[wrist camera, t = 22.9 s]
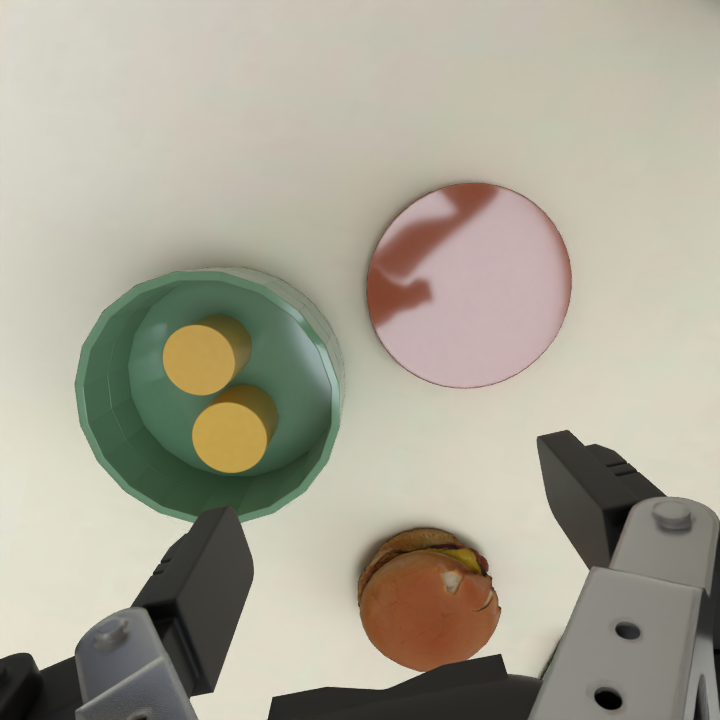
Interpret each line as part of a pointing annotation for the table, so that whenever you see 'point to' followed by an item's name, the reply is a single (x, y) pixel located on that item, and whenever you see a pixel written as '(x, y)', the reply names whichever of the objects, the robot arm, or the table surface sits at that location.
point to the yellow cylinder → (207, 354)
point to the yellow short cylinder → (235, 429)
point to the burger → (427, 600)
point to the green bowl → (180, 409)
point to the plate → (469, 285)
